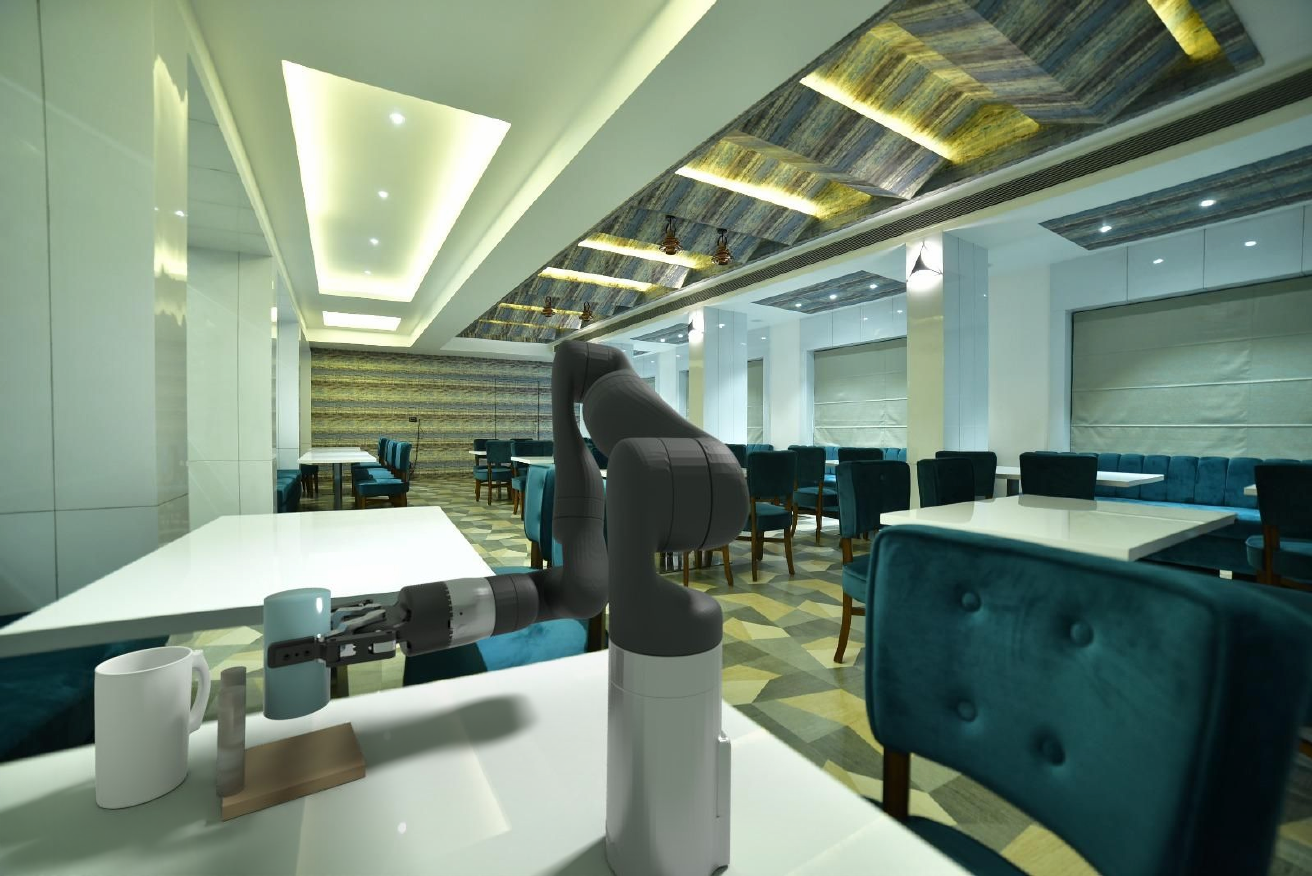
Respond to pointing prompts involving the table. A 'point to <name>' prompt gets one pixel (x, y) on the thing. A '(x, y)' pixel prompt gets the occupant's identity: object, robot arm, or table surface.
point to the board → (276, 757)
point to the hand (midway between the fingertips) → (267, 646)
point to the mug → (146, 722)
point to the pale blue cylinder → (305, 682)
